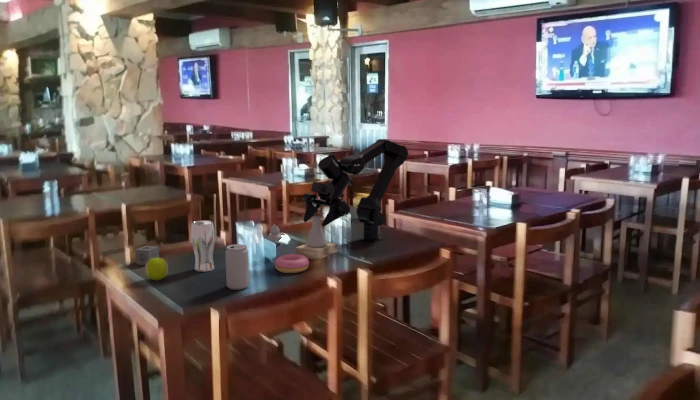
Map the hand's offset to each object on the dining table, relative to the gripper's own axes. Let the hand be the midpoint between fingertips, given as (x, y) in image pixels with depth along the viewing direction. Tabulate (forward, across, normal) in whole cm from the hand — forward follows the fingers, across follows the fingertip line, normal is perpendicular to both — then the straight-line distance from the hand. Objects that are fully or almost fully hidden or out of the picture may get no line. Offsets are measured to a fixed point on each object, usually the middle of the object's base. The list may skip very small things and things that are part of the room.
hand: (313, 223), depth 200 cm
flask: (+5, 0, +7) cm, 8 cm away
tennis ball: (+43, -14, -28) cm, 53 cm away
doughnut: (+19, +7, -3) cm, 20 cm away
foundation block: (+7, 0, +9) cm, 11 cm away
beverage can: (+34, +9, -19) cm, 40 cm away
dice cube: (+39, -32, -23) cm, 55 cm away
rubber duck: (+8, -21, +8) cm, 23 cm away
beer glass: (+32, -13, -17) cm, 39 cm away
